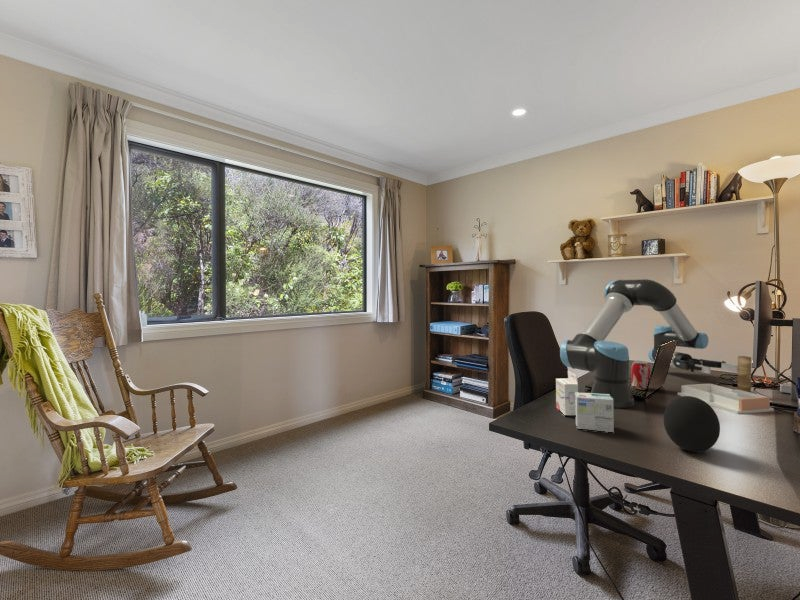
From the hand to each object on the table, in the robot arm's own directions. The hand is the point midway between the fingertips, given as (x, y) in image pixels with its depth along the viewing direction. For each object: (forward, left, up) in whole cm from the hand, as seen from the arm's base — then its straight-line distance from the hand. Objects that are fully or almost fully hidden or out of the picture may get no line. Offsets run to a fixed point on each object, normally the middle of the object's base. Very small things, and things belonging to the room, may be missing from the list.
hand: (723, 369), depth 161 cm
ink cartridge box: (-80, -13, -9) cm, 82 cm away
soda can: (-31, +9, -9) cm, 34 cm away
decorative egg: (-65, -48, -9) cm, 81 cm away
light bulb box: (-80, -28, -9) cm, 85 cm away
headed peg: (0, -9, -9) cm, 12 cm away
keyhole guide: (-16, -14, -9) cm, 23 cm away
